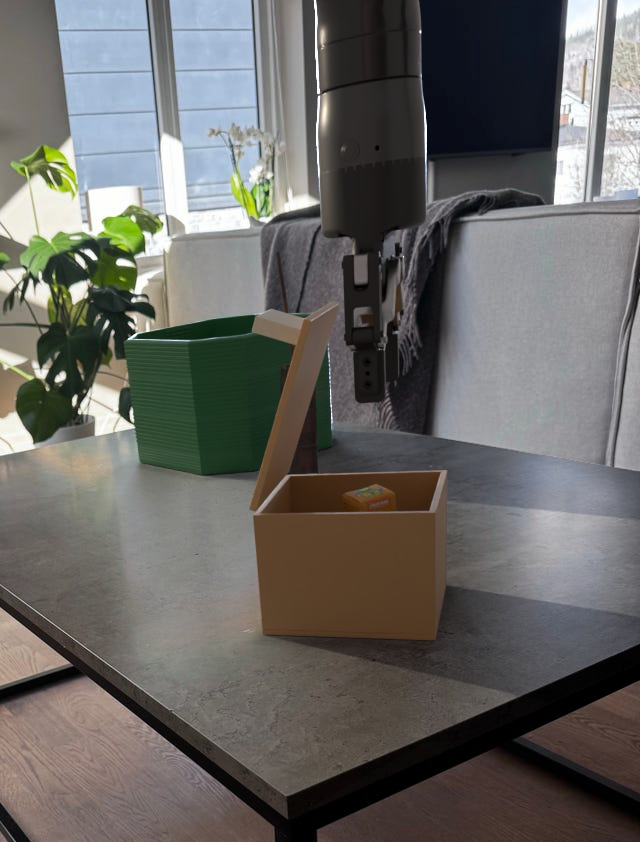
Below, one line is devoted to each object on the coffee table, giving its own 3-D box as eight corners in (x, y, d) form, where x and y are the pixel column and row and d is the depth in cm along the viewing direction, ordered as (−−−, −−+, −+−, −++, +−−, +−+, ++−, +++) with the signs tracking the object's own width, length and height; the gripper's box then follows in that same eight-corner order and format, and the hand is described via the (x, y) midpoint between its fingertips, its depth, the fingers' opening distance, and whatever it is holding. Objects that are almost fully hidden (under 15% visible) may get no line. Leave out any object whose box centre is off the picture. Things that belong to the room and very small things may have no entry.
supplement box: (372, 615, 77) (358, 501, 72) (353, 602, 80) (338, 493, 76) (408, 603, 77) (395, 490, 73) (388, 591, 80) (375, 482, 76)
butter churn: (359, 476, 118) (351, 242, 107) (305, 494, 114) (291, 252, 102) (309, 467, 125) (297, 247, 114) (256, 484, 121) (239, 256, 109)
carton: (446, 584, 82) (447, 469, 78) (435, 640, 72) (435, 512, 68) (293, 582, 87) (286, 474, 83) (262, 634, 77) (252, 515, 73)
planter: (224, 480, 124) (211, 342, 117) (120, 458, 144) (103, 339, 137) (358, 439, 137) (353, 311, 130) (245, 424, 157) (236, 313, 150)
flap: (340, 302, 75) (285, 286, 76) (311, 320, 65) (248, 302, 66) (289, 471, 83) (239, 455, 84) (255, 512, 73) (199, 493, 74)
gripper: (415, 148, 58) (419, 406, 64) (434, 154, 70) (435, 372, 76) (298, 167, 61) (313, 413, 67) (335, 170, 73) (345, 378, 79)
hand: (378, 391), depth 72 cm, fingers open, 8 cm apart
